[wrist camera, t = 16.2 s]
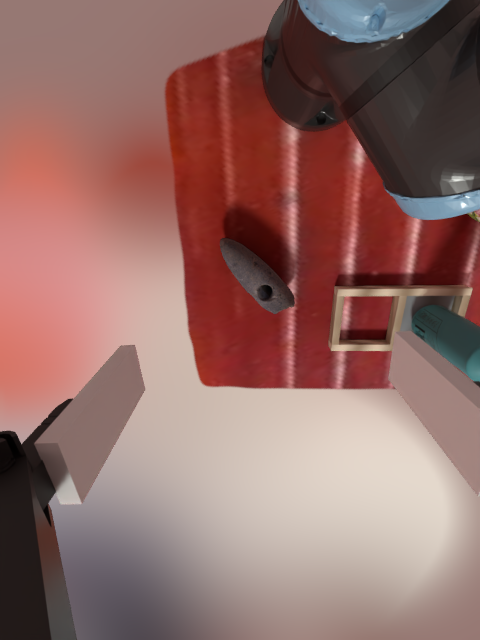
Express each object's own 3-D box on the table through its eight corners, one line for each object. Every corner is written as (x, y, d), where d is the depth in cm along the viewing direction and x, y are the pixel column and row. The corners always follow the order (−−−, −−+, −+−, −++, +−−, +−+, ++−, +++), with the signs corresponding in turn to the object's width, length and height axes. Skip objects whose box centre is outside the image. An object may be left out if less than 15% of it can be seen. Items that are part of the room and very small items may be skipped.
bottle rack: (328, 345, 55) (331, 350, 53) (334, 286, 50) (337, 289, 49) (447, 345, 54) (454, 350, 52) (464, 285, 50) (472, 288, 48)
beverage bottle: (398, 314, 51) (482, 379, 33) (435, 292, 50) (545, 347, 31) (415, 341, 53) (503, 417, 35) (451, 321, 52) (563, 389, 33)
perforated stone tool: (212, 246, 49) (206, 254, 42) (235, 224, 47) (233, 228, 41) (271, 310, 53) (274, 325, 46) (294, 291, 51) (300, 304, 45)
